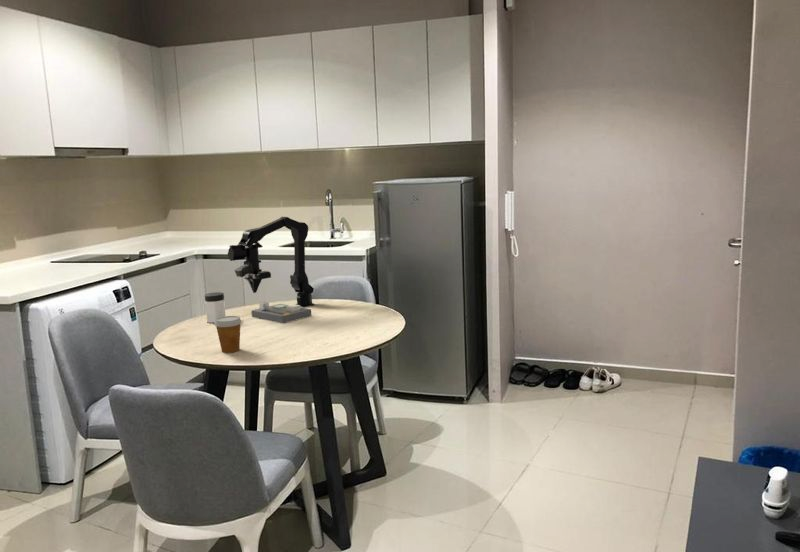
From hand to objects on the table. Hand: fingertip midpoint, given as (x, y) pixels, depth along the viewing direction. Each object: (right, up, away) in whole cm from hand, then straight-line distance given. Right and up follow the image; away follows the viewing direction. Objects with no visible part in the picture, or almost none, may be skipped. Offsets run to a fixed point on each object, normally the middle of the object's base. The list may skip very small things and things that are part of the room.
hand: (254, 292), depth 295 cm
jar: (-15, -12, -6) cm, 21 cm away
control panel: (+13, -10, -3) cm, 17 cm away
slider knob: (+5, -7, -3) cm, 9 cm away
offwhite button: (+18, -8, -5) cm, 21 cm away
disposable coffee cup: (+3, -20, -55) cm, 58 cm away
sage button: (+11, -9, +2) cm, 14 cm away
